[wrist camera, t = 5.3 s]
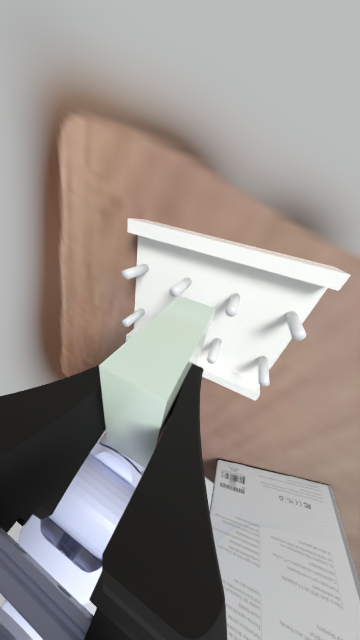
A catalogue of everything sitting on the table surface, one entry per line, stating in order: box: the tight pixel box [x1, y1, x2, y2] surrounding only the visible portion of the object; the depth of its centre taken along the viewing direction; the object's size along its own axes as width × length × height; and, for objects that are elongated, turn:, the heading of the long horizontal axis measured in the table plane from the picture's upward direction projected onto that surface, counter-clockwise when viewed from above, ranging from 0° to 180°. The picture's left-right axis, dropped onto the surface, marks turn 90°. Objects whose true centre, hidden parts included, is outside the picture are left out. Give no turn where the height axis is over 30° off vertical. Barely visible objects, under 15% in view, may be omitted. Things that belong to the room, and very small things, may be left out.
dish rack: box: [122, 218, 350, 401], centre depth 15 cm, size 13×16×4 cm
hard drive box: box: [210, 460, 360, 640], centre depth 18 cm, size 16×8×20 cm, turn 113°
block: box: [99, 296, 216, 469], centre depth 10 cm, size 6×2×7 cm, turn 168°
